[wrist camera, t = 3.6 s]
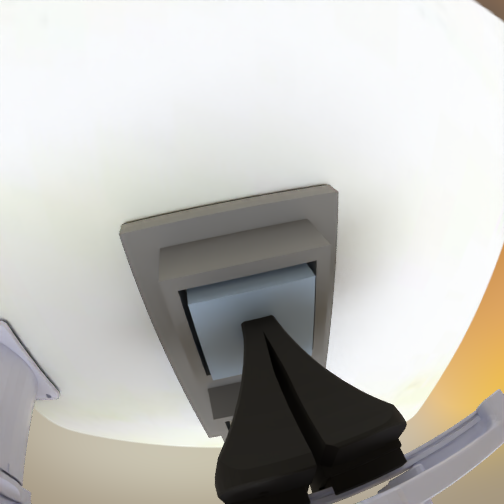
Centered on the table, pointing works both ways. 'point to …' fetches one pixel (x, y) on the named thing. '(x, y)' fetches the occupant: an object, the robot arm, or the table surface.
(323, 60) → the table surface
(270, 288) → the blue key
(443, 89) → the table surface
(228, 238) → the key board
